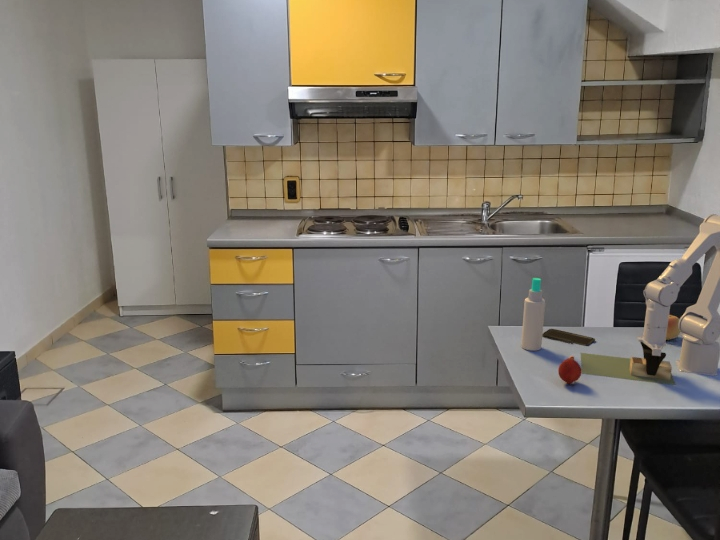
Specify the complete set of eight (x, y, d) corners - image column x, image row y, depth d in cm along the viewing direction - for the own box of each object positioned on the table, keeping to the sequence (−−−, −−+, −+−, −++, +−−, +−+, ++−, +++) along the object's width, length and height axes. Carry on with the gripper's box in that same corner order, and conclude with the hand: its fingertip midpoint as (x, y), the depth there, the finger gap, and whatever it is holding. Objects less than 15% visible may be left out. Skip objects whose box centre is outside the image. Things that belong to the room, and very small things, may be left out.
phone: (550, 328, 214) (596, 338, 205) (550, 331, 214) (595, 341, 206) (541, 334, 208) (587, 345, 199) (540, 337, 208) (587, 348, 199)
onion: (565, 389, 170) (568, 361, 168) (553, 380, 175) (555, 353, 173) (584, 387, 172) (587, 359, 170) (571, 378, 177) (574, 351, 175)
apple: (650, 340, 206) (653, 317, 204) (649, 332, 214) (652, 309, 212) (680, 345, 203) (684, 320, 201) (678, 335, 210) (682, 312, 208)
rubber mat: (667, 364, 187) (667, 362, 187) (675, 386, 173) (675, 385, 173) (580, 353, 194) (580, 352, 194) (581, 374, 180) (581, 373, 179)
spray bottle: (545, 349, 197) (551, 280, 192) (529, 352, 195) (535, 282, 189) (532, 342, 203) (538, 275, 197) (516, 345, 200) (522, 277, 195)
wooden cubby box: (667, 373, 180) (669, 360, 179) (670, 379, 176) (671, 366, 175) (629, 368, 183) (630, 356, 182) (630, 374, 179) (632, 362, 178)
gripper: (637, 314, 183) (631, 359, 187) (643, 331, 170) (636, 379, 174) (664, 317, 181) (658, 362, 185) (672, 334, 168) (665, 382, 172)
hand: (649, 370), depth 179 cm, fingers open, 5 cm apart
